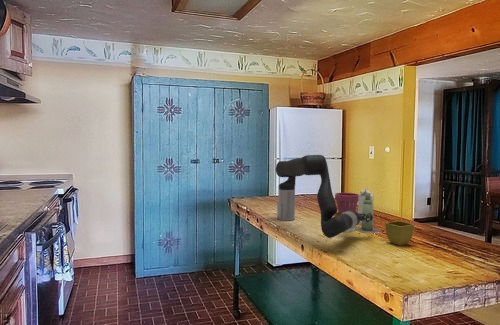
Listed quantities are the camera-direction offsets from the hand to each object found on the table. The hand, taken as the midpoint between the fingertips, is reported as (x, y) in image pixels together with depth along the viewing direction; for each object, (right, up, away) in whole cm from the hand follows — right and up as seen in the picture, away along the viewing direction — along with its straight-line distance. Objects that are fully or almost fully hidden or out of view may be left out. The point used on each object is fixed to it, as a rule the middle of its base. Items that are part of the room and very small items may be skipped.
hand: (361, 213), depth 181 cm
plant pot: (+5, -7, +48) cm, 48 cm away
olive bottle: (+6, -9, +8) cm, 13 cm away
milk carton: (+10, -9, +26) cm, 29 cm away
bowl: (-7, -9, +10) cm, 16 cm away
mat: (+6, -9, +8) cm, 14 cm away
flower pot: (+12, -11, -16) cm, 23 cm away
